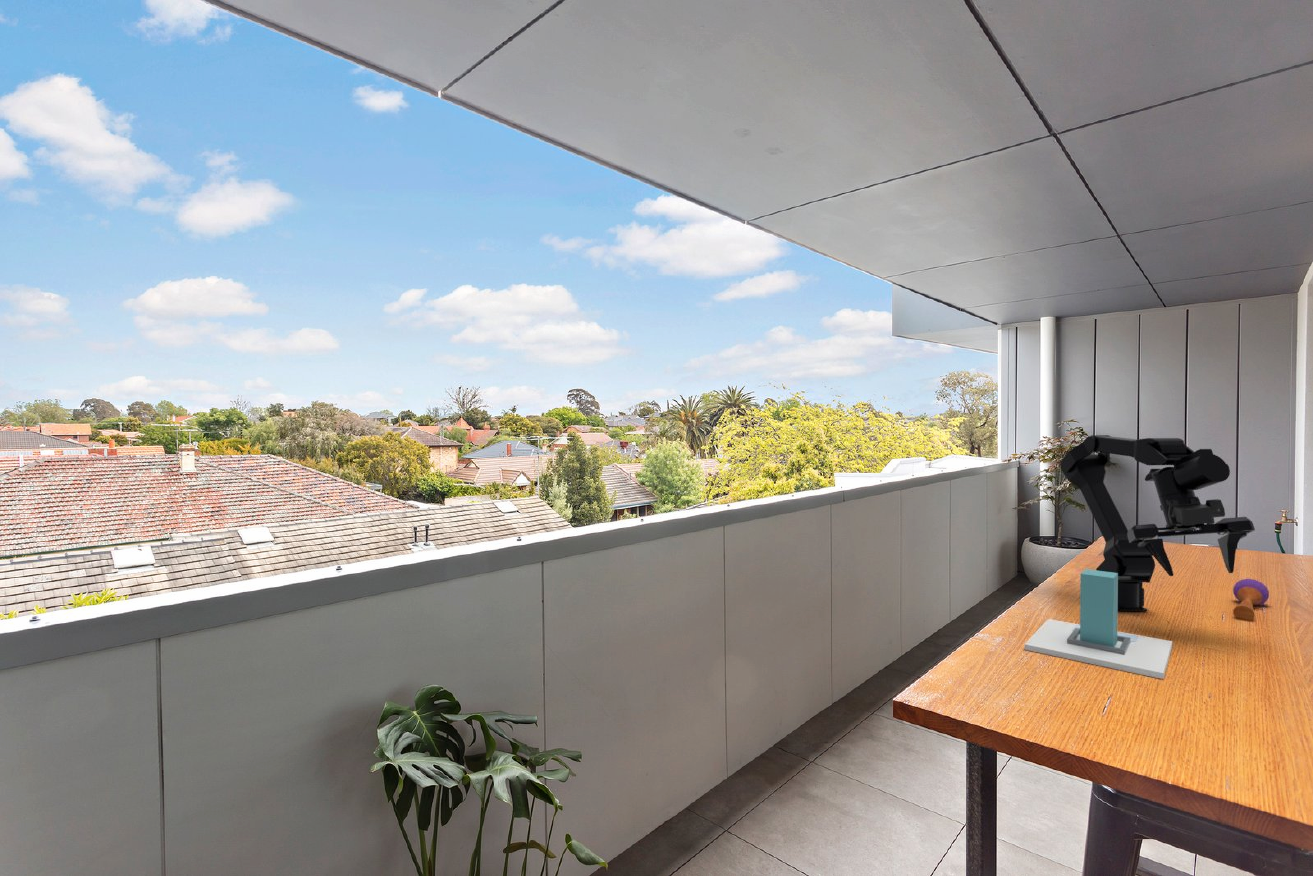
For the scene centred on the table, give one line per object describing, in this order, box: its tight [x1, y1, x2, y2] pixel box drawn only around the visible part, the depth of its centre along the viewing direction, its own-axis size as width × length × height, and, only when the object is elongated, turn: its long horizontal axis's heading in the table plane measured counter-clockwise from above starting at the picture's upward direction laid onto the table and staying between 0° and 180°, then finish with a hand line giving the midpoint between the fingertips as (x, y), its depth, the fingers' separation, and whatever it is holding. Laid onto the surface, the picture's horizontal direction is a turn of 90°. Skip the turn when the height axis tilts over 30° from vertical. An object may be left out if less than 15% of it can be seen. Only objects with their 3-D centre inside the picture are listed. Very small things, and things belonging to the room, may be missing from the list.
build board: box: [1024, 618, 1173, 680], centre depth 115 cm, size 20×20×2 cm
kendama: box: [1232, 578, 1270, 622], centre depth 138 cm, size 6×6×20 cm
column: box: [1079, 568, 1119, 647], centre depth 115 cm, size 5×5×13 cm
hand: (1201, 574), depth 120 cm, fingers open, 9 cm apart
